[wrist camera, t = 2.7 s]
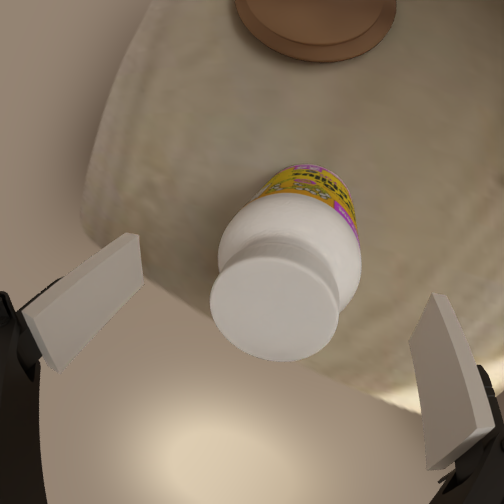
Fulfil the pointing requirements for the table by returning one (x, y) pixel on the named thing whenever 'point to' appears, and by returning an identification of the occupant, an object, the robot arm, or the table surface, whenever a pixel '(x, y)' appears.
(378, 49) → the table surface
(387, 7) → the plinth
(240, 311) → the supplement bottle
